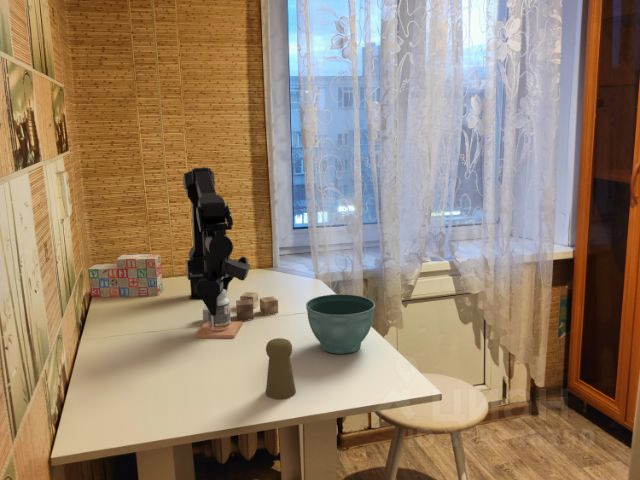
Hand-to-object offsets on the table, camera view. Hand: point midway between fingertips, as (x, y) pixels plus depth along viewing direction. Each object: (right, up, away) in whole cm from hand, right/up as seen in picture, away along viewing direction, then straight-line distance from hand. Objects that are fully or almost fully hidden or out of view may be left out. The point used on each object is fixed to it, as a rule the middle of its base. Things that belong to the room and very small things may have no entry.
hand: (218, 309), depth 152 cm
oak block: (+12, -3, +15) cm, 19 cm away
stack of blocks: (-35, 0, +36) cm, 50 cm away
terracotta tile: (0, -6, +1) cm, 6 cm away
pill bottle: (0, -5, +1) cm, 5 cm away
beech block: (+6, -2, +20) cm, 21 cm away
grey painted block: (-3, -4, +9) cm, 10 cm away
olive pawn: (+18, -13, -34) cm, 40 cm away
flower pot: (+31, -8, -11) cm, 34 cm away
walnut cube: (+5, -4, +11) cm, 13 cm away
